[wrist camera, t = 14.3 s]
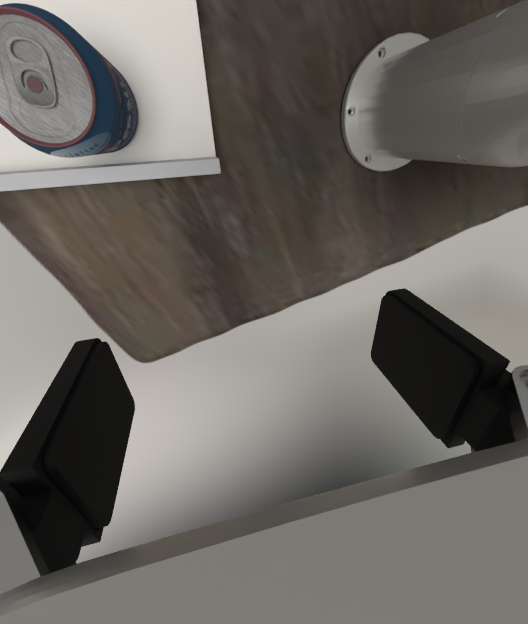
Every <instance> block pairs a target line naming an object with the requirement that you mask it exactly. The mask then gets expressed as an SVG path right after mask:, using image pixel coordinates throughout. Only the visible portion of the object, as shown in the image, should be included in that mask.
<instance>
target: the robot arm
mask: <svg viewBox="0 0 528 624" xmlns="http://www.w3.org/2000/svg"><path fill="white" fill-rule="evenodd" d="M378 53H379V56H378ZM348 109H349V111H350V113H349V115H348ZM341 129H342V134H343V139H344V142H345V145H346V147H347V150H348V151H349V153H350V154H351V156H352V158H353V159H354V160H355V161H356V162H357V163H358V164H360V165H362V166H363V167H365V168H367V169H371V170H374V171H391V170H394V169H397V168H400V167H402V166H404V165H406V164H407V163H409V162H410V161H411V160H413V159H415V160H427V161H439V162H451V163H463V164H475V165H486V166H498V167H521V166H528V0H523V1H521V2H519V3H516V4H514V5H512V6H509V7H507V8H505V9H502V10H500V11H498V12H495V13H493V14H490V15H488V16H486V17H483V18H481V19H479V20H476V21H474V22H472V23H469V24H467V25H465V26H462V27H460V28H457V29H455V30H453V31H450V32H448V33H446V34H443V35H441V36H439V37H436V38H434V39H432V40H430V39H429V38H427V37H425V36H423V35H421V34H417V33H411V32H407V33H400V34H397V35H394V36H392V37H389V38H387V39H385V40H384V41H382V42H380V43H379V44H377V45H376V46H375V47H374V48H372V49H371V50H370V51H369V52H368V53H367V54H366V55H365V56H364V58H363V59H362V60H361V61H360V63H359V64H358V66H357V67H356V69H355V71H354V72H353V74H352V76H351V78H350V81H349V83H348V85H347V88H346V91H345V95H344V99H343V103H342V112H341ZM365 157H366V160H365ZM371 358H372V361H373V362H374V364H375V365H376V366H377V367H378V368H379V370H380V371H381V372H382V373H383V375H384V376H385V377H386V378H387V379H388V380H389V382H390V383H391V384H392V386H393V387H394V388H395V389H396V390H397V392H398V393H399V394H400V395H401V396H402V398H403V399H404V400H405V401H406V403H407V404H408V405H409V406H410V407H411V409H412V410H413V411H414V412H415V414H416V415H417V416H418V417H419V419H420V420H421V421H422V422H423V423H424V425H425V426H426V427H427V428H428V430H429V431H430V432H431V433H432V434H433V435H434V436H435V437H436V438H438V439H441V441H442V442H443V443H444V444H445V445H446V447H447V448H451V447H455V446H459V445H463V444H464V442H465V441H467V443H468V444H469V445H470V446H471V453H470V454H466V455H463V456H459V457H455V458H451V459H448V460H444V461H440V462H436V463H433V464H429V465H425V466H421V467H418V468H414V469H410V470H406V471H403V472H399V473H396V474H392V475H388V476H385V477H381V478H377V479H373V480H370V481H366V482H362V483H359V484H355V485H352V486H348V487H344V488H341V489H337V490H333V491H330V492H326V493H322V494H319V495H316V496H312V497H308V498H305V499H301V500H297V501H294V502H290V503H286V504H283V505H279V506H275V507H272V508H268V509H265V510H262V511H258V512H254V513H251V514H247V515H243V516H240V517H236V518H233V519H229V520H225V521H222V522H219V523H215V524H211V525H208V526H204V527H200V528H197V529H194V530H190V531H187V532H183V533H179V534H176V535H172V536H168V537H165V538H161V539H158V540H155V541H151V542H148V543H145V544H141V545H138V546H135V547H131V548H128V549H125V550H121V551H118V552H115V553H111V554H108V555H105V556H101V557H98V558H95V559H91V560H88V561H85V562H81V563H79V564H77V563H76V560H77V559H78V556H79V553H80V550H81V547H82V546H86V545H89V544H94V543H97V542H100V540H101V536H102V532H103V527H105V526H108V524H109V523H110V521H111V517H112V513H113V509H114V504H115V499H116V495H117V490H118V486H119V481H120V476H121V472H122V467H123V462H124V458H125V453H126V448H127V444H128V439H129V434H130V430H131V424H132V420H133V415H134V411H135V404H134V400H133V397H132V395H131V393H130V391H129V389H128V387H127V384H126V382H125V380H124V377H123V375H122V373H121V371H120V369H119V366H118V364H117V362H116V360H115V357H114V355H113V353H112V351H111V349H110V346H109V344H108V343H107V342H102V341H101V340H100V339H98V338H95V339H89V340H84V341H78V342H76V343H75V344H74V346H73V347H72V349H71V351H70V352H69V354H68V356H67V358H66V359H65V361H64V363H63V365H62V366H61V368H60V370H59V371H58V373H57V375H56V377H55V378H54V380H53V382H52V383H51V385H50V387H49V389H48V390H47V392H46V394H45V395H44V397H43V399H42V401H41V402H40V404H39V406H38V407H37V409H36V411H35V413H34V414H33V416H32V418H31V420H30V421H29V423H28V425H27V426H26V428H25V430H24V432H23V433H22V435H21V437H20V438H19V440H18V442H17V444H16V445H15V447H14V449H13V451H12V452H11V454H10V456H9V457H8V459H7V461H6V463H5V464H4V466H3V468H2V469H1V472H0V624H528V366H519V367H517V368H515V369H514V370H513V371H512V373H510V372H508V371H507V370H506V368H507V366H508V364H509V362H510V361H509V360H508V359H507V358H505V357H504V356H502V355H501V354H499V353H498V352H496V351H495V350H493V349H492V348H491V347H489V346H488V345H486V344H485V343H483V342H482V341H481V340H479V339H478V338H476V337H475V336H473V335H472V334H470V333H469V332H468V331H466V330H465V329H463V328H462V327H460V326H459V325H457V324H456V323H455V322H453V321H452V320H450V319H449V318H447V317H446V316H444V315H443V314H442V313H440V312H439V311H437V310H436V309H434V308H433V307H431V306H430V305H428V304H427V303H426V302H424V301H423V300H421V299H420V298H418V297H417V296H415V295H414V294H413V293H411V292H410V291H408V290H407V289H398V290H392V291H388V292H387V293H386V295H385V296H384V297H383V298H382V300H381V305H380V310H379V315H378V320H377V325H376V330H375V335H374V340H373V345H372V350H371Z"/></svg>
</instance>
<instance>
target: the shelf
mask: <svg viewBox="0 0 528 624" xmlns="http://www.w3.org/2000/svg"><path fill="white" fill-rule="evenodd" d="M9 3H22V4H28V5H32V6H36V7H39V8H42V9H44V10H46V11H48V12H50V13H52V14H54V15H56V16H58V17H59V18H61V19H62V20H64V21H65V22H66V23H68V24H69V25H70V26H71V27H73V28H74V29H75V30H76V31H77V32H78V33H79V34H80V35H81V36H82V37H83V38H84V39H86V40H87V41H88V42H89V43H90V44H91V45H92V46H93V47H94V48H95V49H96V50H97V51H98V52H99V53H100V54H102V55H103V56H104V57H105V58H106V59H107V60H108V61H109V62H110V63H111V64H112V65H113V66H114V67H115V68H116V69H117V70H118V71H119V72H120V73H121V74H122V75H123V77H124V78H125V79H126V81H127V83H128V84H129V86H130V88H131V90H132V92H133V94H134V97H135V100H136V104H137V109H138V126H137V130H136V133H135V135H134V137H133V139H132V140H131V142H130V143H129V144H128V145H127V146H126V147H124V148H123V149H121V150H119V151H116V152H112V153H105V154H98V155H90V156H83V157H75V158H64V157H57V156H53V155H49V154H46V153H43V152H41V151H39V150H36V149H34V148H33V147H31V146H29V145H27V144H26V143H24V142H23V141H21V140H20V139H18V138H17V137H16V136H15V135H13V134H12V133H11V132H10V131H9V130H8V129H6V128H5V127H4V126H3V125H1V124H0V191H10V190H23V189H35V188H47V187H60V186H72V185H84V184H97V183H109V182H122V181H134V180H146V179H159V178H171V177H183V176H196V175H208V174H220V173H221V172H220V163H219V158H217V157H216V154H215V146H214V138H213V130H212V123H211V115H210V107H209V99H208V91H207V83H206V75H205V67H204V60H203V52H202V44H201V36H200V28H199V20H198V12H197V4H196V0H0V5H3V4H9Z"/></svg>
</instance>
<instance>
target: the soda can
mask: <svg viewBox="0 0 528 624" xmlns="http://www.w3.org/2000/svg"><path fill="white" fill-rule="evenodd" d="M0 124H1V125H3V126H4V127H5V128H6V129H8V130H9V131H10V132H11V133H12V134H13V135H15V136H16V137H17V138H18V139H20V140H21V141H23V142H24V143H26V144H27V145H29V146H31V147H33V148H34V149H36V150H39V151H41V152H43V153H46V154H49V155H53V156H57V157H64V158H75V157H83V156H90V155H98V154H105V153H112V152H116V151H119V150H121V149H123V148H124V147H126V146H127V145H128V144H129V143H130V142H131V140H132V139H133V137H134V135H135V133H136V130H137V126H138V109H137V104H136V100H135V97H134V94H133V92H132V90H131V88H130V86H129V84H128V83H127V81H126V79H125V78H124V77H123V75H122V74H121V73H120V72H119V71H118V70H117V69H116V68H115V67H114V66H113V65H112V64H111V63H110V62H109V61H108V60H107V59H106V58H105V57H104V56H103V55H102V54H100V53H99V52H98V51H97V50H96V49H95V48H94V47H93V46H92V45H91V44H90V43H89V42H88V41H87V40H86V39H84V38H83V37H82V36H81V35H80V34H79V33H78V32H77V31H76V30H75V29H74V28H73V27H71V26H70V25H69V24H68V23H66V22H65V21H64V20H62V19H61V18H59V17H58V16H56V15H54V14H52V13H50V12H48V11H46V10H44V9H42V8H39V7H36V6H32V5H28V4H22V3H9V4H3V5H0Z"/></svg>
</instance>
